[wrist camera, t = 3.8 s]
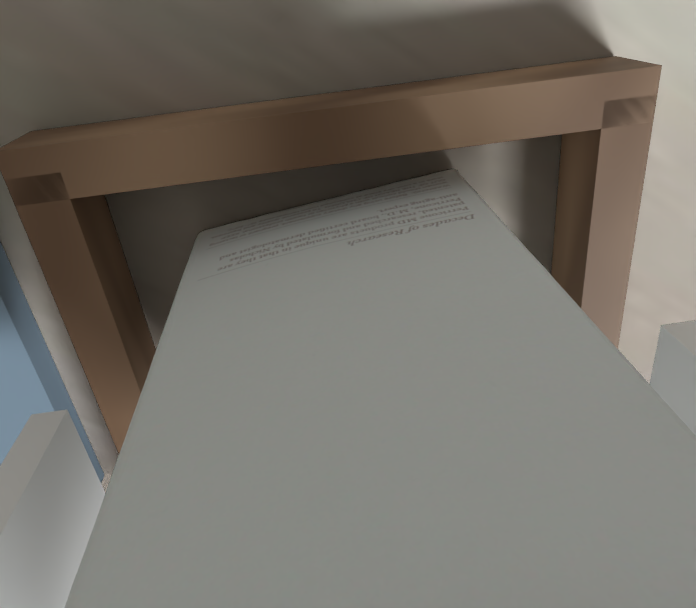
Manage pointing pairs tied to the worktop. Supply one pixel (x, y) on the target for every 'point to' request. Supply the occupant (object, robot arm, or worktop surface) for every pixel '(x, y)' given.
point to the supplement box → (390, 428)
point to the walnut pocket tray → (326, 149)
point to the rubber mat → (27, 369)
